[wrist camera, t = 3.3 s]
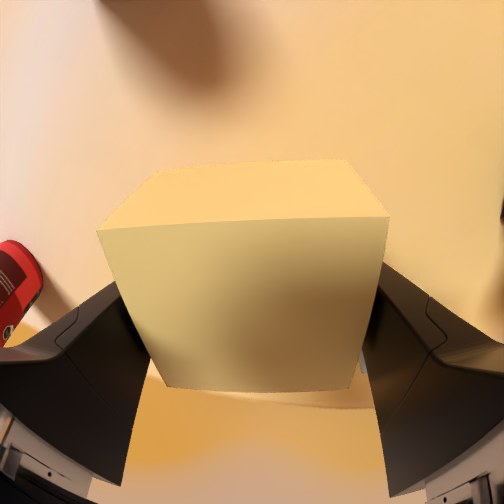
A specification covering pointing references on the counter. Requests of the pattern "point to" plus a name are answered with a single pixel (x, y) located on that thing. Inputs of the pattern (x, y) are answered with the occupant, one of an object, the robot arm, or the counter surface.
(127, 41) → the counter surface
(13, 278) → the canned food
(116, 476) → the robot arm
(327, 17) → the counter surface
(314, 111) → the counter surface
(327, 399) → the counter surface
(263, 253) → the brick ochre
